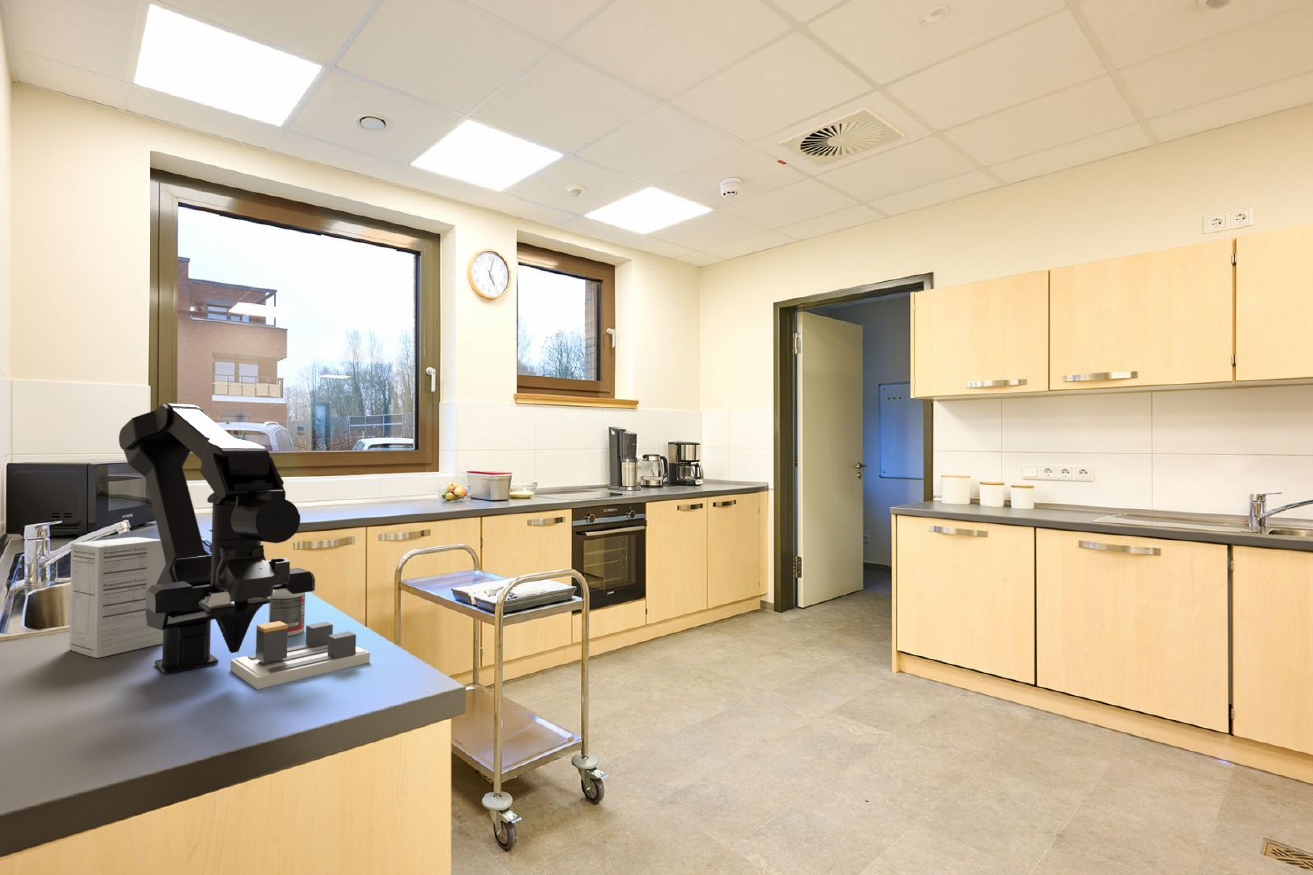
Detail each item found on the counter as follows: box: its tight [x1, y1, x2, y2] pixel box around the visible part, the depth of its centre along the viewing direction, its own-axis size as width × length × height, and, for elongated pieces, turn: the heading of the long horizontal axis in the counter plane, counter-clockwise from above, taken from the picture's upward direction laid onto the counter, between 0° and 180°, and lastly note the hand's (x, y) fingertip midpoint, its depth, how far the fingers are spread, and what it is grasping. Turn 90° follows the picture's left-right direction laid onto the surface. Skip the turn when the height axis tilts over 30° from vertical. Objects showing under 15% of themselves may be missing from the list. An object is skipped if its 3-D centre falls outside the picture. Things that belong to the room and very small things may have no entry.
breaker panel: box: [229, 621, 371, 690], centre depth 95 cm, size 11×15×4 cm
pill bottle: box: [268, 588, 306, 637], centre depth 112 cm, size 5×5×10 cm
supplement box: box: [68, 536, 166, 659], centre depth 104 cm, size 10×9×17 cm
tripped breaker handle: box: [255, 621, 288, 663], centre depth 92 cm, size 3×3×5 cm
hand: (234, 652), depth 89 cm, fingers closed
